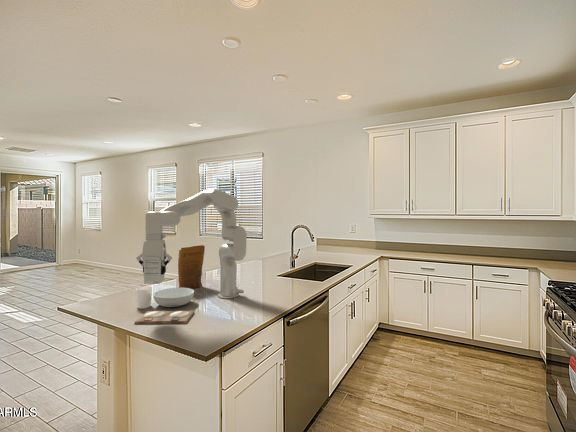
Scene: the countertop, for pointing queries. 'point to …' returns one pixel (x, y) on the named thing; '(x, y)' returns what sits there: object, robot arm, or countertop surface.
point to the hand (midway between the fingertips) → (154, 273)
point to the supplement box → (152, 270)
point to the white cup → (143, 296)
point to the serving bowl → (173, 296)
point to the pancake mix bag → (190, 266)
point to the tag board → (165, 317)
